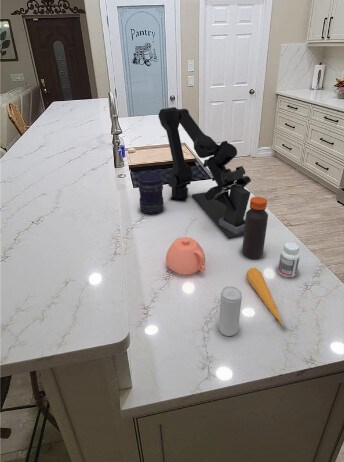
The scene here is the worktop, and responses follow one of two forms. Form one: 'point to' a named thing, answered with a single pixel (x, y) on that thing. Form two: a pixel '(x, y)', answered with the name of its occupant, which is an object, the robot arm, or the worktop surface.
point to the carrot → (262, 290)
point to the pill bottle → (289, 260)
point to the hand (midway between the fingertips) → (239, 208)
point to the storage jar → (151, 193)
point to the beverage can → (229, 310)
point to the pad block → (237, 205)
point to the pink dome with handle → (185, 256)
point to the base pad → (219, 216)
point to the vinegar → (255, 228)
